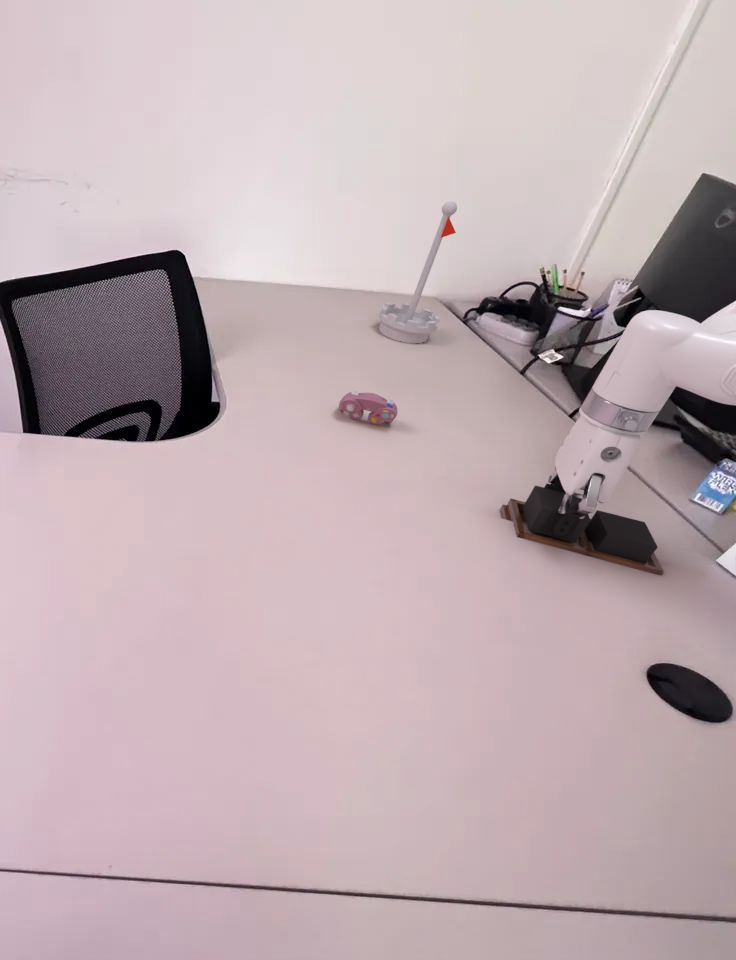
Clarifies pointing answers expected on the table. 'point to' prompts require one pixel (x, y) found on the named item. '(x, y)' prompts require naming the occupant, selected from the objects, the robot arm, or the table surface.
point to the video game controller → (368, 407)
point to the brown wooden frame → (516, 514)
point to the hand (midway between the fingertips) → (550, 521)
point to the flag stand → (417, 297)
